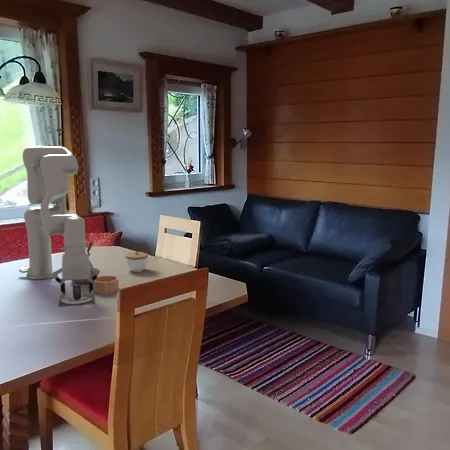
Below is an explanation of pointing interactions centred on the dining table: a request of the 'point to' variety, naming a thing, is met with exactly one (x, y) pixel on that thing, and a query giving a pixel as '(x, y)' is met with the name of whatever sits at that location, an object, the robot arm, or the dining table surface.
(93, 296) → the mat
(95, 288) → the bowl
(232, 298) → the dining table surface
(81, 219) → the robot arm
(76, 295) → the lid
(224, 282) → the dining table surface
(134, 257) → the lidded jar
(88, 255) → the coffee pot
